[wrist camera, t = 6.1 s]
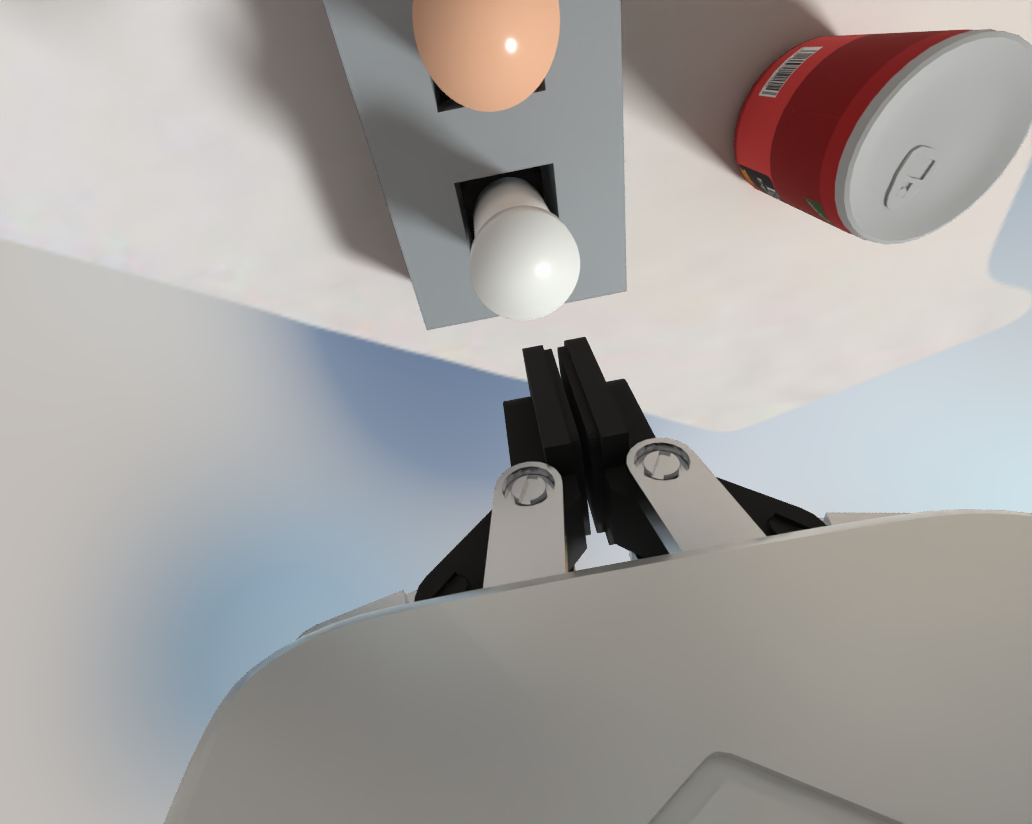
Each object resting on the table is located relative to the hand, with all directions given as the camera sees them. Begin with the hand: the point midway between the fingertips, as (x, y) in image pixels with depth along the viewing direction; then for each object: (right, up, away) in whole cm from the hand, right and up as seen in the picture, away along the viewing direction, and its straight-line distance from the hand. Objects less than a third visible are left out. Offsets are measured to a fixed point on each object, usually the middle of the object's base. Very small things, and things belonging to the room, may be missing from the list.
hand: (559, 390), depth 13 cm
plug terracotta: (-3, +16, +8) cm, 19 cm away
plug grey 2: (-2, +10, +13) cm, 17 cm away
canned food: (+16, +17, +16) cm, 28 cm away
